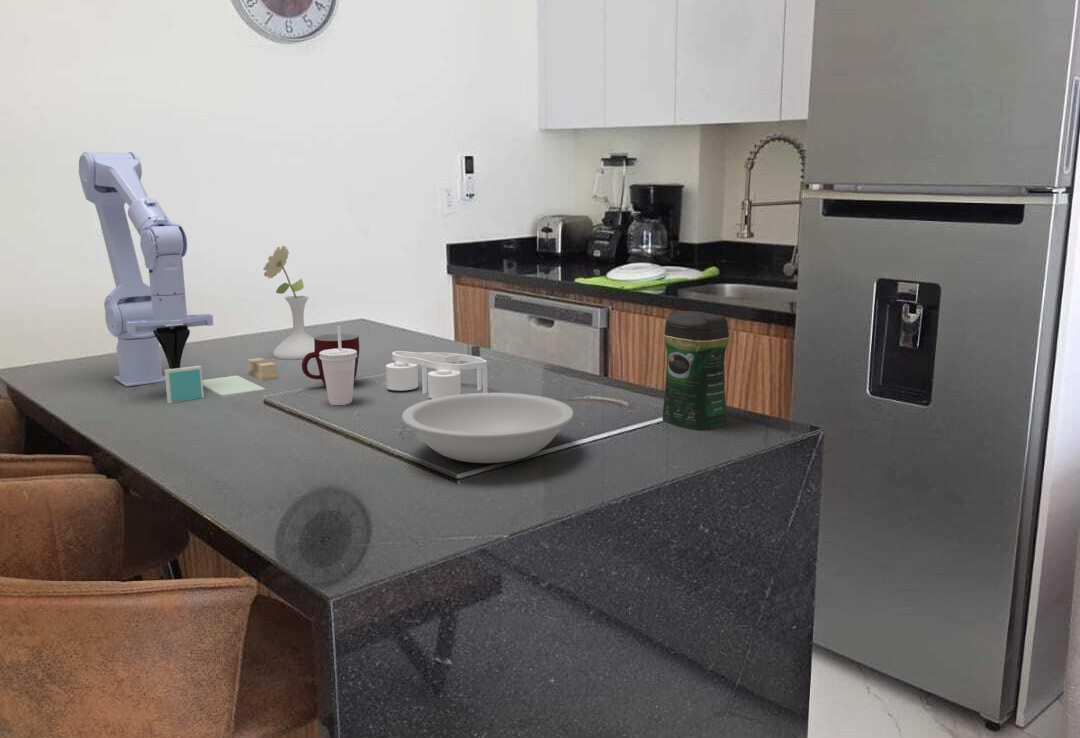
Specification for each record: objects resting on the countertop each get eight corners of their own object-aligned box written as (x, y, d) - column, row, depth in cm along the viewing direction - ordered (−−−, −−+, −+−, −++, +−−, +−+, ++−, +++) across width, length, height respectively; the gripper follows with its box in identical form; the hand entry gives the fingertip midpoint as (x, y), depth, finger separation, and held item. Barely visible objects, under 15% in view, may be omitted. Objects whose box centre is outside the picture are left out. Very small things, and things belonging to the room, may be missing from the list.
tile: (167, 403, 165) (164, 369, 164) (201, 398, 169) (199, 365, 168) (169, 404, 164) (166, 371, 163) (204, 399, 168) (201, 366, 167)
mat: (196, 384, 179) (195, 380, 179) (237, 379, 184) (237, 375, 184) (222, 399, 167) (222, 395, 167) (265, 393, 172) (265, 388, 172)
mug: (311, 398, 168) (308, 343, 166) (298, 390, 174) (294, 337, 172) (367, 391, 173) (365, 338, 171) (352, 383, 180) (349, 332, 178)
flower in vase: (303, 353, 210) (297, 241, 205) (338, 359, 203) (332, 243, 198) (255, 363, 200) (247, 245, 195) (290, 369, 193) (283, 247, 188)
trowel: (242, 379, 185) (241, 360, 184) (267, 375, 187) (266, 357, 187) (271, 392, 173) (269, 372, 172) (296, 389, 176) (295, 369, 175)
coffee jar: (734, 432, 145) (739, 313, 141) (699, 441, 140) (703, 318, 136) (688, 419, 152) (691, 306, 148) (653, 427, 147) (656, 310, 144)
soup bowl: (512, 495, 117) (511, 444, 115) (367, 465, 129) (365, 419, 128) (603, 448, 137) (604, 404, 135) (470, 426, 149) (469, 385, 148)
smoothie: (367, 404, 163) (363, 325, 161) (344, 412, 158) (340, 330, 155) (337, 400, 166) (333, 322, 163) (314, 408, 160) (309, 328, 157)
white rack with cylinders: (374, 395, 171) (373, 355, 169) (419, 384, 179) (418, 346, 178) (451, 412, 158) (450, 369, 157) (496, 400, 166) (495, 359, 165)
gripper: (131, 299, 160) (138, 377, 162) (216, 292, 168) (221, 366, 171) (120, 295, 165) (128, 370, 168) (203, 289, 174) (209, 360, 176)
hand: (174, 368), depth 170 cm, fingers closed
